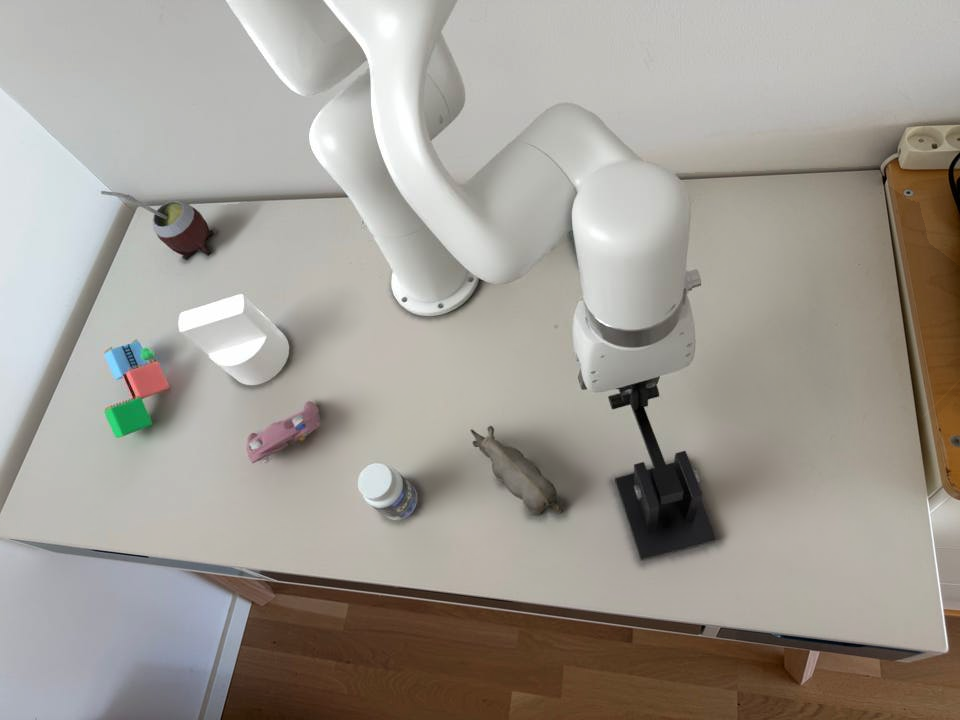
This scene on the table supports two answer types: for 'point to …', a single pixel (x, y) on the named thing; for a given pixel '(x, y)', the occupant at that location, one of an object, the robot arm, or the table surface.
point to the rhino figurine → (519, 474)
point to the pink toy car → (282, 433)
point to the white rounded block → (237, 338)
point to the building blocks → (133, 386)
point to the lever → (654, 453)
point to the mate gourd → (177, 226)
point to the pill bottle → (387, 491)
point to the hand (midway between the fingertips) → (635, 395)
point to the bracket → (664, 512)
